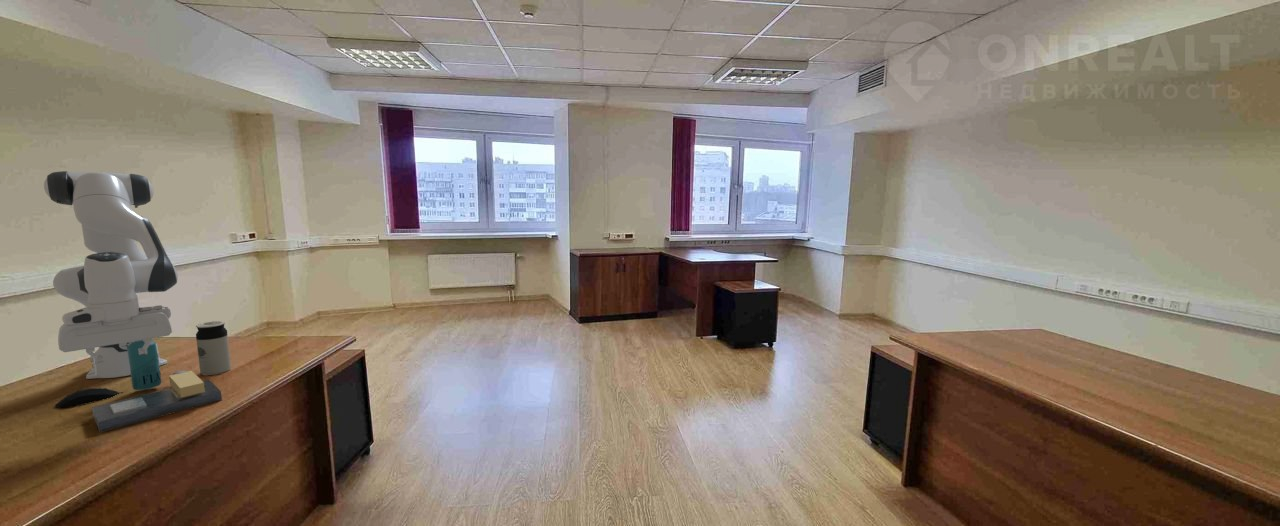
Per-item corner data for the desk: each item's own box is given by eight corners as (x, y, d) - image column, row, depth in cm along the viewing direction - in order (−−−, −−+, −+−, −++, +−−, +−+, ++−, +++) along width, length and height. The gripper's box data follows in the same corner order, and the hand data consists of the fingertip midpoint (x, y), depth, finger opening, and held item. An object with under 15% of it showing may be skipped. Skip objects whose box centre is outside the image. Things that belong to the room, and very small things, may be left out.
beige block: (168, 382, 136) (167, 373, 136) (190, 377, 140) (189, 368, 140) (181, 397, 127) (180, 388, 126) (204, 391, 131) (203, 382, 130)
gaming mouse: (133, 394, 137) (131, 383, 136) (55, 411, 125) (53, 399, 125) (131, 389, 141) (130, 377, 140) (56, 405, 129) (53, 392, 128)
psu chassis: (92, 413, 124) (90, 402, 123) (207, 385, 144) (206, 375, 143) (99, 432, 114) (98, 420, 114) (221, 399, 134) (220, 389, 134)
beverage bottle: (142, 395, 135) (133, 335, 133) (126, 393, 137) (117, 333, 134) (168, 387, 142) (160, 329, 139) (153, 385, 143) (145, 327, 140)
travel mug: (226, 365, 161) (221, 319, 158) (234, 370, 157) (229, 323, 154) (197, 372, 154) (191, 324, 151) (204, 377, 150) (199, 328, 147)
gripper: (167, 302, 129) (172, 346, 131) (53, 316, 112) (61, 366, 114) (171, 305, 126) (177, 350, 128) (54, 320, 109) (63, 371, 111)
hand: (121, 358), depth 121 cm, fingers open, 7 cm apart
